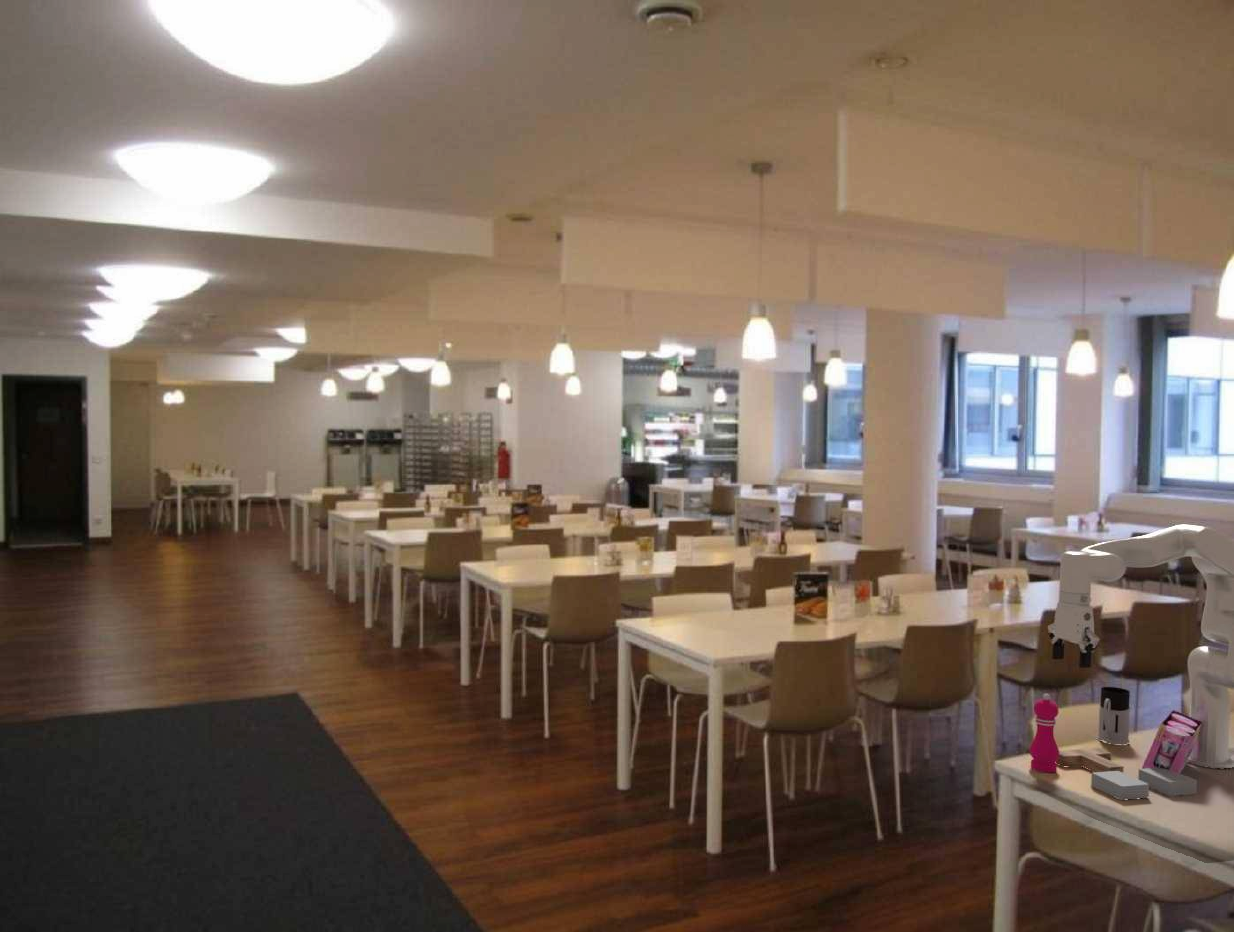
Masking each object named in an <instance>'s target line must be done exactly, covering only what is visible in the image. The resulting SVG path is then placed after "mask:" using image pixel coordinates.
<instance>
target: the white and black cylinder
mask: <svg viewBox="0 0 1234 932" xmlns="http://www.w3.org/2000/svg"><path fill="white" fill-rule="evenodd" d="M1130 694H1131V691H1130V690H1128V689H1126V688H1122V687H1116V686H1104V687H1101V688H1100V703H1099V712H1098V713H1099V714H1098V715H1099V716H1098V734H1097V736H1096V740H1097V741H1098V742H1100V740H1104V741H1106V742H1107V743H1111V744H1127V743H1129V742H1130V738H1129V736H1130V735H1129V734H1130V733H1129V730H1130V714H1131V713H1130V710H1131V707H1130V697H1131V695H1130Z"/></svg>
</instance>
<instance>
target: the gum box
mask: <svg viewBox="0 0 1234 932" xmlns="http://www.w3.org/2000/svg"><path fill="white" fill-rule="evenodd" d="M1202 723H1203V722H1201V721H1198V720H1196V719H1194V718H1191V717H1190V715H1189V716H1188V715H1186V714H1184V713H1182V712H1180V711H1177V710H1174V709H1173V710H1171V711H1170V713H1169V714H1168V715H1167V716H1166V717H1165V719H1163V720H1162V721H1161V723H1160V724H1159V726H1158V730H1157V732H1156V734H1155V736H1154V739H1153V742H1152V743H1151V747H1150V748H1149V750H1148V753H1147V755H1146V758H1145V759H1144V762H1143V765H1142V767H1141V769H1146V768H1164V769H1169V770H1171V771H1175V772H1178V773H1180V774H1182V772H1183V770H1184V768H1185V767H1186V766H1187V763H1188V762H1187V761H1188V758H1189V756H1190V753H1191V751H1192V748H1193V746H1194V743H1195V741H1196V738H1197V736H1198V733H1199V731H1200V728H1201V726H1202ZM1184 766H1185V767H1184ZM1181 771H1182V772H1181Z"/></svg>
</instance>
